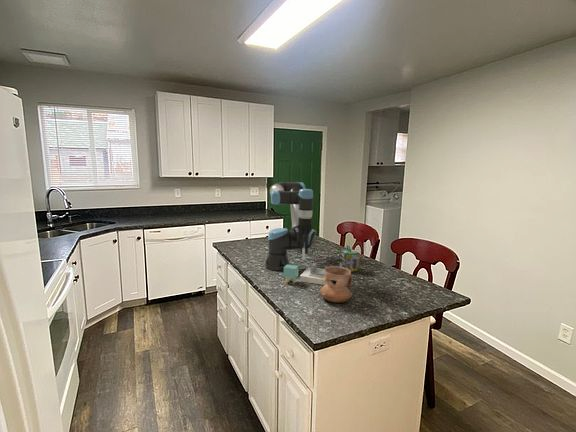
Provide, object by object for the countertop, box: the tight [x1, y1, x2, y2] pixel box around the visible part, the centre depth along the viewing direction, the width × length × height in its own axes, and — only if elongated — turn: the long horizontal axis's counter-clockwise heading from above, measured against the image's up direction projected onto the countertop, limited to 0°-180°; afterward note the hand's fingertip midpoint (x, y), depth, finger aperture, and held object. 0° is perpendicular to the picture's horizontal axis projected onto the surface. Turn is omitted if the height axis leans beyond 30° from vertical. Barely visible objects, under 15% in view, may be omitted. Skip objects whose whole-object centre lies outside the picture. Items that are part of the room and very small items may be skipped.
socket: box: [299, 266, 327, 286], centre depth 171 cm, size 20×16×4 cm
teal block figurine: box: [283, 264, 300, 284], centre depth 165 cm, size 7×5×8 cm
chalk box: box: [338, 245, 360, 273], centre depth 186 cm, size 9×9×15 cm
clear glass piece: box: [310, 262, 324, 276], centre depth 171 cm, size 7×8×4 cm
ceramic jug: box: [319, 265, 353, 304], centre depth 145 cm, size 18×14×14 cm
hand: (303, 259), depth 173 cm, fingers closed
